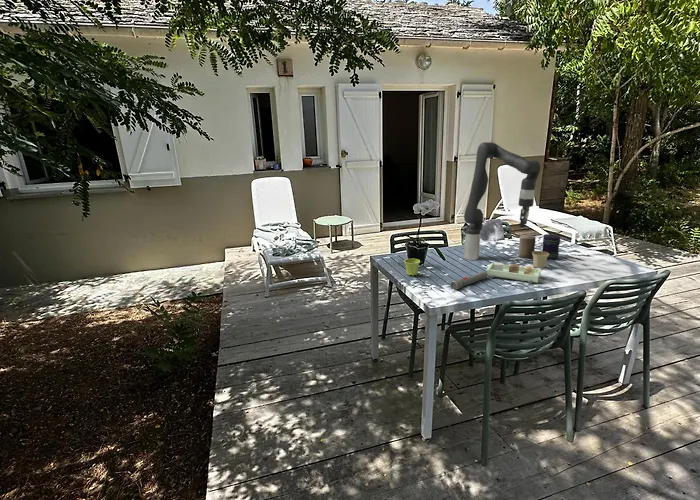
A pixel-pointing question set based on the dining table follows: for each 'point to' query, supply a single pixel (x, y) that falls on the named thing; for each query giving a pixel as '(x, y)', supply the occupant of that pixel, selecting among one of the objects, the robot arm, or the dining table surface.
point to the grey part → (498, 266)
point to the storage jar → (551, 246)
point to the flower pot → (539, 258)
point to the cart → (510, 275)
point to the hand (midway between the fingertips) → (523, 225)
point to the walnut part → (514, 268)
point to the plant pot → (412, 266)
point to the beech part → (528, 270)
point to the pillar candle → (526, 246)
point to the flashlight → (468, 280)
